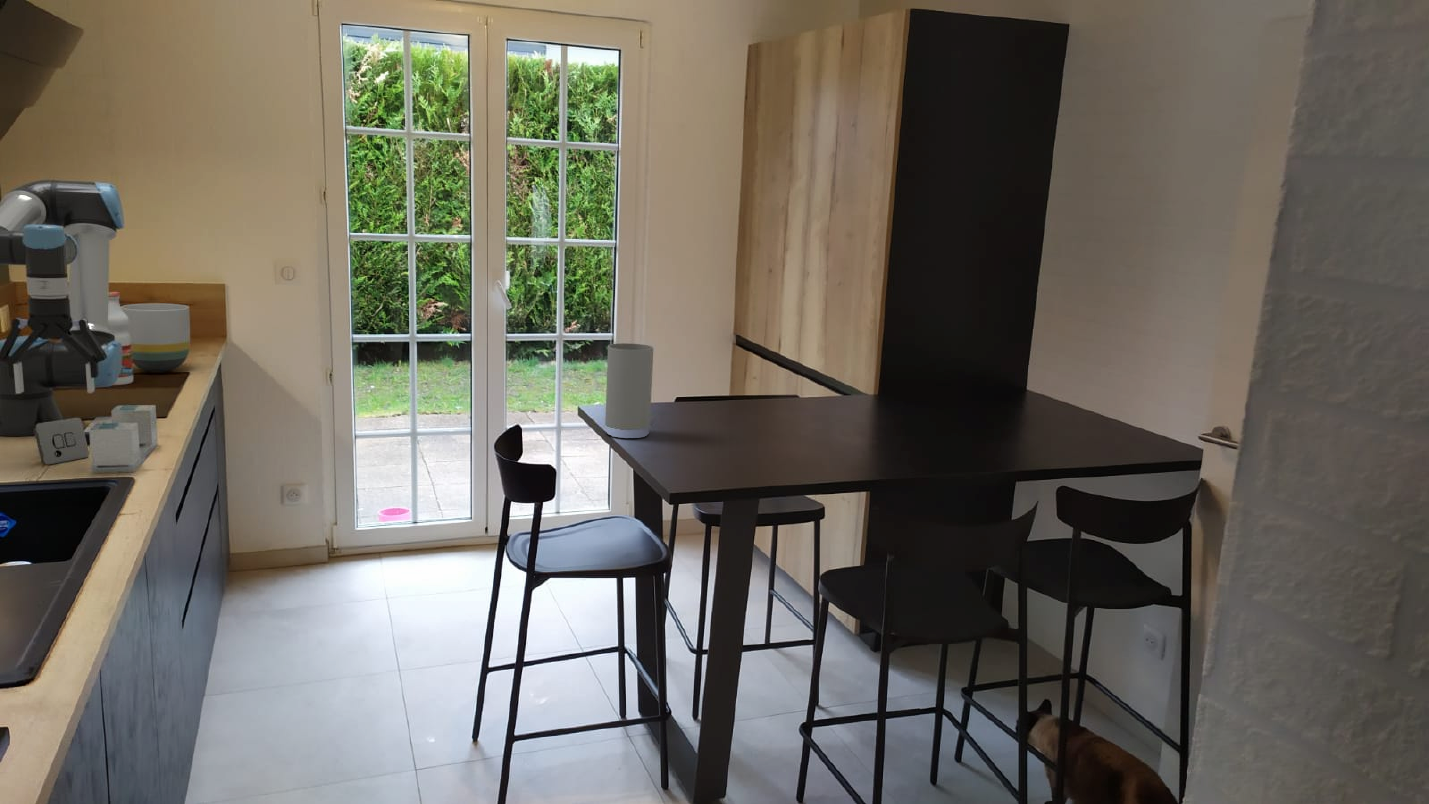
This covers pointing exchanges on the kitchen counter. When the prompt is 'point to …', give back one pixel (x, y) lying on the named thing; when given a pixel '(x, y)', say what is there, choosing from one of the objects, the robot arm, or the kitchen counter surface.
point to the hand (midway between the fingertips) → (55, 392)
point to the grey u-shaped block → (123, 439)
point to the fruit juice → (121, 337)
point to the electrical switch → (61, 441)
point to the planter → (158, 335)
